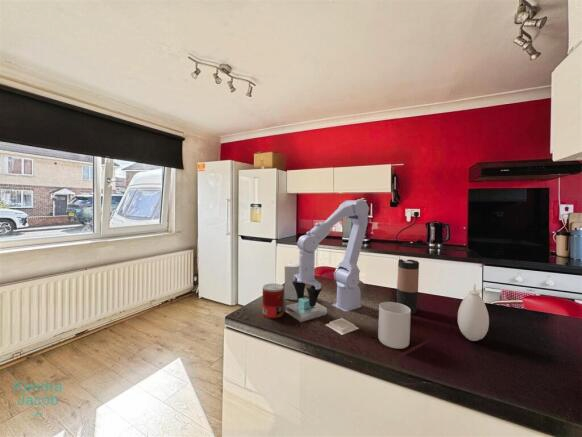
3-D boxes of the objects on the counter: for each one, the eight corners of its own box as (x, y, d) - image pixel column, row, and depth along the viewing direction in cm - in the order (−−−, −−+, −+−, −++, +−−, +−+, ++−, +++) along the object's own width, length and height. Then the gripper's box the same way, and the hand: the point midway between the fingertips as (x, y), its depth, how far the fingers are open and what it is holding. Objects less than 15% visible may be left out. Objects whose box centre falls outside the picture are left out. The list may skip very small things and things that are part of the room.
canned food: (280, 320, 90) (281, 290, 90) (259, 318, 92) (259, 288, 91) (285, 312, 98) (285, 284, 97) (265, 310, 100) (266, 282, 99)
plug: (305, 312, 98) (305, 297, 98) (311, 315, 95) (311, 299, 95) (298, 314, 96) (298, 298, 96) (303, 317, 93) (304, 301, 93)
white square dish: (341, 320, 91) (342, 316, 91) (358, 330, 85) (359, 325, 85) (325, 326, 87) (325, 321, 87) (341, 336, 80) (341, 331, 80)
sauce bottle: (451, 332, 84) (454, 279, 83) (475, 333, 84) (478, 280, 83) (467, 345, 76) (470, 287, 75) (493, 346, 76) (497, 287, 75)
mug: (411, 353, 72) (413, 315, 71) (378, 348, 74) (379, 311, 73) (405, 333, 83) (406, 300, 82) (376, 329, 86) (377, 297, 85)
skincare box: (297, 300, 110) (297, 267, 109) (283, 299, 111) (284, 266, 110) (301, 294, 118) (301, 262, 117) (288, 293, 119) (289, 261, 118)
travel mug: (412, 316, 96) (414, 264, 95) (392, 309, 102) (394, 260, 101) (420, 310, 101) (422, 261, 100) (401, 304, 107) (403, 258, 106)
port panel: (310, 306, 104) (310, 299, 103) (326, 315, 95) (326, 307, 95) (285, 313, 97) (285, 305, 97) (300, 323, 89) (300, 315, 88)
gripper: (287, 264, 99) (287, 298, 100) (310, 273, 87) (309, 311, 88) (302, 262, 103) (301, 295, 104) (325, 270, 91) (325, 307, 91)
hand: (306, 302), depth 96 cm, fingers open, 7 cm apart
